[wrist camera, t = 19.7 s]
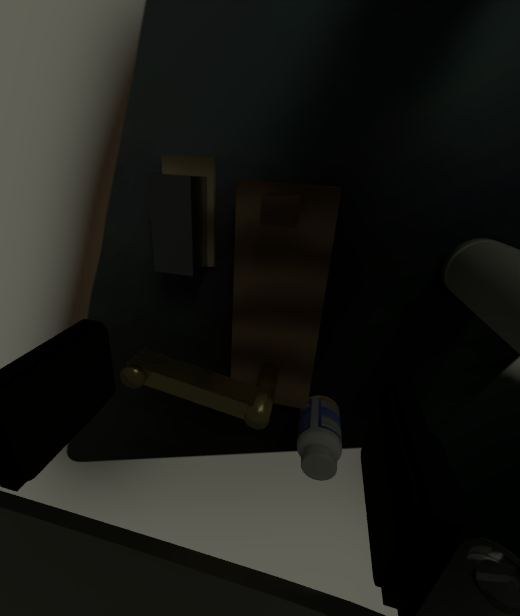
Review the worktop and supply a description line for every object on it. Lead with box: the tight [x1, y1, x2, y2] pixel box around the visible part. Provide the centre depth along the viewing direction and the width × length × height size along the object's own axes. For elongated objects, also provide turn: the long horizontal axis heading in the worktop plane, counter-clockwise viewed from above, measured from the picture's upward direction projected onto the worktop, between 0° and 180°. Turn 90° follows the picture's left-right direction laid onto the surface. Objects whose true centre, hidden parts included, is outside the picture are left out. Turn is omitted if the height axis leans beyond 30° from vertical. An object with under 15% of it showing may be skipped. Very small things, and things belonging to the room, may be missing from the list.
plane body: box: [231, 180, 342, 410], centre depth 34 cm, size 26×10×9 cm, turn 176°
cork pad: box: [161, 154, 216, 267], centre depth 36 cm, size 12×6×1 cm, turn 176°
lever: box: [120, 348, 280, 429], centre depth 34 cm, size 15×2×9 cm, turn 75°
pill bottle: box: [297, 395, 342, 481], centre depth 39 cm, size 5×5×10 cm
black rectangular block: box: [147, 173, 208, 276], centre depth 34 cm, size 10×4×4 cm, turn 176°
